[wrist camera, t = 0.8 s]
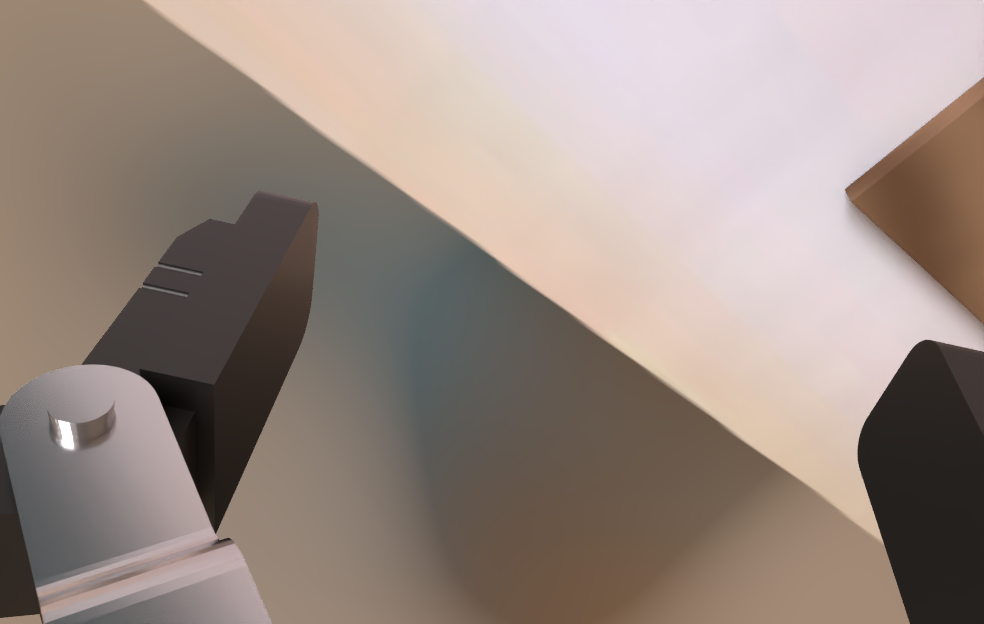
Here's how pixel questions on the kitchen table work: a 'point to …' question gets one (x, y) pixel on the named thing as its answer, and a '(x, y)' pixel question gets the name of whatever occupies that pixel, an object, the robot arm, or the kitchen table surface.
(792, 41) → the kitchen table surface
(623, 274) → the kitchen table surface
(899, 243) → the walnut board
